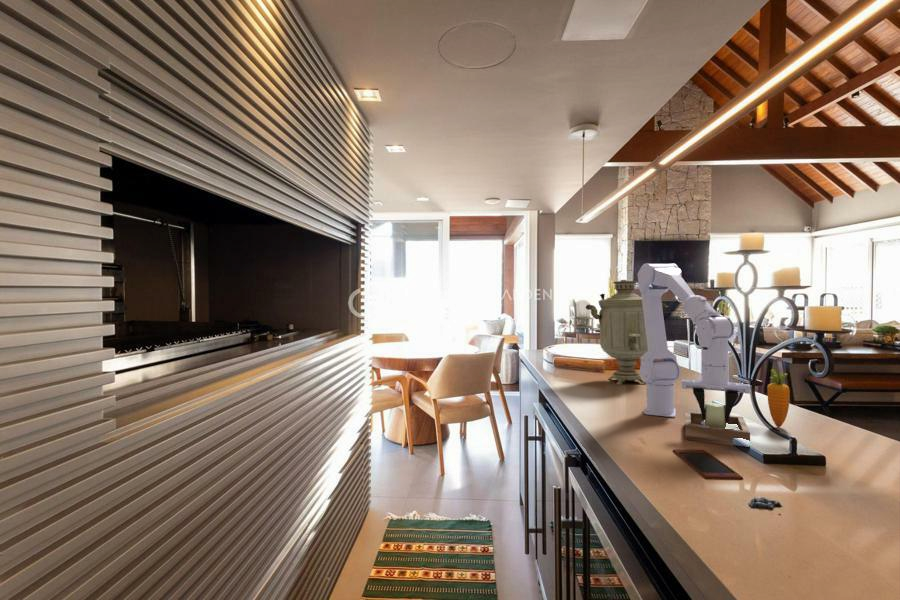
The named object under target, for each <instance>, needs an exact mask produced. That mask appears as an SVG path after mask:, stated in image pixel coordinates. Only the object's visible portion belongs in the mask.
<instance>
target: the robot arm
mask: <svg viewBox="0 0 900 600" xmlns="http://www.w3.org/2000/svg"><path fill="white" fill-rule="evenodd" d="M637 282H638V288H639V292H640V294H641V296H640V297H642V305H643V313H644V321H645V329H646V337H647V345H648V351H647V352H646V353H645V354H644V355H643V356H642V357H641V358H640V367H639V373H640V374H641V377H642V379H643V380H644V382H646V405H645V406H646V407H645V409H644V415H648V416H658V417H659V416H660V417H668V418H675V417H676V412H677V411H676V410H677V409H676V408H675V402H674V401H675V398H674V397H675V396H674V395H675V393H674V390H675V388H674V387H675V386H674V385H675V384H677V381H678V380H679V379H680V376H681V367H680V365H679V362H678V361H677V360H678V359H677V355H676V354H675V353H673V352H672V351H671V350H670V349H668V348H669V347H668V340H667V333H666V326H665V320H664V317H665V316H664V311H663V308H662V303H663V301H662V296H663V295H664V294H665V293H667V292H669V291H671V292H672V293H673V294H674V295H675V296H676V297H677V299H679V301H681V302H682V304H683V305H682V310H683V312H684V313H685V314H686V315H687V317H688V318H689V319H690V320H691V321H692V322H693V324H694V325H695V327H694V330H695V334H696V336H697V338H698V344H699V346H700V349H701V352H700V355H701V356H700V357H701V361H700V362H701V365H700V366H701V369H700V370H701V372H700V373H701V377H700V378H701V379H681V389H684V390H685V389H690V390H691V389H692V393H693V395H694V397H695V399H696V401H697V403H698V406H699V409H700V413H702V419H705V404H706V403H705V402H706V401H705V390H706V391H718V392H719V391H720V392H724V401H725V402H724V403H725V405H724V406H725V421H726V422H729V416H731V412H732V409H733V408H734V405H735V403H736V402H737V400H738V398H739V396H740V395H739V393H742V394H743V393H744V394H748V395H750V394H751V385H750V384H749V383H748V384H747V383H738V382H731V381H729V339H731V337H733V335H734V332H735V326H734V322H733V320H731V318H730V317H729V316H727V315H722V314H720V313H718V311H716V309H714V308H713V306H712V305H711V304H710V303H709V302H708V299H707V298H706V297H705V296H702V295H696V294H695V293H694V292H693V290H692V289H691V287H689V285H688V284H687V282H686V281H685V279H684V278H683V277H682V270H681V268H679V266H678V265H677V264H676V263H674V262H673V263H672V262H671V263H647V262H646V263H643V264H642V266H640V269H639V271H638V272H637Z"/></svg>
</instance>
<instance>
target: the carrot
mask: <svg viewBox="0 0 900 600" xmlns="http://www.w3.org/2000/svg"><path fill="white" fill-rule="evenodd" d="M770 372H771V374H772V376H770V377H769V378H770V379H771V380H772V381H773V382H772V383H769V384H767V388H766V389H767V390H766V391H767V404H768V409H769V413H770V416H771V419H772V421H773V423H774V425H775V426H776V427H777V428H781V427H782V425H783V424H784V423H785V421H786V419H787V416H788V412H789V408H790V397H791V395H790V393H791V390H790V387H789V386H788V385H787V384H786V383H784V380H785V379H786V377H787V376H788V373H783V372H781V371H779V372H778V373H777V371H776V369H773V368H772V369H771V370H770Z"/></svg>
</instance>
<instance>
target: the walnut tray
mask: <svg viewBox="0 0 900 600" xmlns="http://www.w3.org/2000/svg"><path fill="white" fill-rule="evenodd" d="M684 414H685V415H684V420H685V421H684V422H685V423H684V425H685V426H684V427H685V428H684V431H685V435H684V436H685V441H692V442H701V443H708V444H717V445H724V446H731V447H735V446H734V444H733V441H732V440H733V438H743V439H746V440H749V441H750V442H751V432H750V429H749V428H748V425H747V423H746V421H745V419H744V417H743V416H738V415H737V416H736V415H730V416H729V422H726V423H728V424H737V425H738V427H739V429H740V430H734V429H725V428H716V427H707V426H705V425H703V424H701V422H702V421H704V420H705V419H702V413H701V412H697V411H696V412H695V411H688V410H687V411H686V410H685V412H684Z"/></svg>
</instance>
